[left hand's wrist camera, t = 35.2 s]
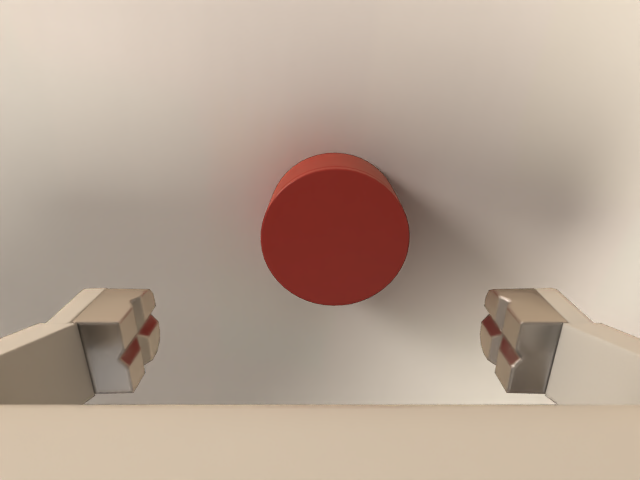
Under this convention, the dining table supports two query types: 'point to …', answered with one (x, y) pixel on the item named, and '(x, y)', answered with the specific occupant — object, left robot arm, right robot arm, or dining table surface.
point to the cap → (334, 230)
